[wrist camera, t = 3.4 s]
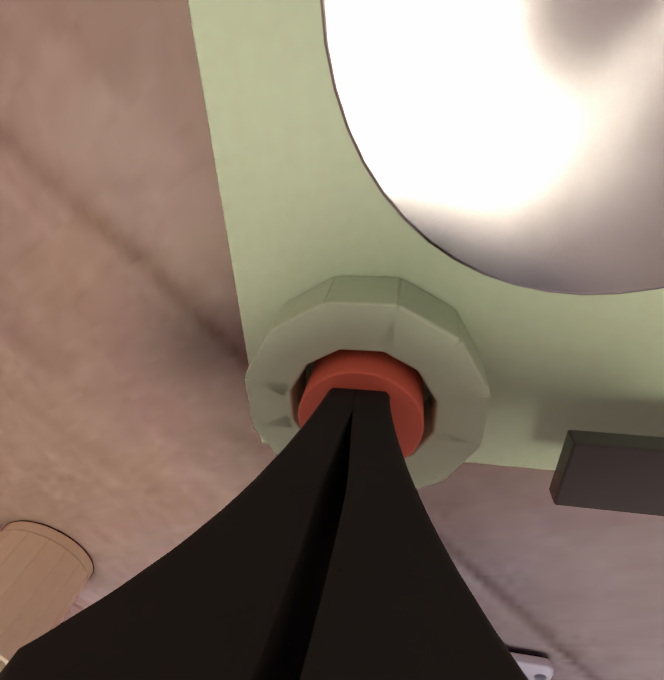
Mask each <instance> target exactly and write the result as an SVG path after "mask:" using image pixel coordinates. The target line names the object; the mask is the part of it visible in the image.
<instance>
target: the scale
mask: <svg viewBox="0 0 664 680" xmlns="http://www.w3.org/2000/svg"><path fill="white" fill-rule="evenodd" d="M188 5H189V11H190V17H191V23H192V28H193V34H194V40H195V46H196V52H197V58H198V64H199V70H200V76H201V82H202V88H203V94H204V100H205V106H206V112H207V118H208V124H209V130H210V136H211V142H212V148H213V154H214V160H215V166H216V172H217V178H218V184H219V190H220V196H221V202H222V208H223V214H224V220H225V226H226V232H227V238H228V244H229V250H230V256H231V262H232V268H233V274H234V280H235V286H236V292H237V298H238V304H239V310H240V316H241V322H242V328H243V334H244V340H245V346H246V352H247V358H248V363H249V368H248V370H247V372H246V374H245V385H246V391H247V396H248V402H249V408H250V413H251V419H252V424H253V428H254V429H255V430H256V431H257V432H258V433H259V435H260V436H261V441H262V443H267V444H268V445H269V446H270V448H271V449H272V450H273V451H274V452H275V454H276V455H278V454H279V453H280V452H281V451H282V450H283V449H284V448H285V447H286V445H287V444H288V443H289V442H290V441H291V439H292V438H293V437H294V436H295V435H296V434H297V432H298V431H299V430H300V429H301V427H300V423H299V418H298V410H299V405H300V402H301V399H302V396H303V393H304V391H305V388H306V385H307V383H308V380H309V377H310V375H311V372H312V369H313V367H314V364H315V362H316V360H318V359H320V358H322V357H324V356H326V355H329V354H331V353H333V352H335V351H337V350H340V349H343V350H362V351H380V352H385V353H387V354H389V355H390V356H392V357H394V358H396V359H398V360H400V361H401V362H403V363H405V364H407V365H409V366H410V367H412V368H414V369H416V370H418V372H419V374H420V375H421V377H422V379H423V406H424V431H423V435H422V438H421V441H420V442H419V444H418V446H417V447H416V449H415V450H414V451H413V452H412V453H411V454H410V455H409V456H408V457H406V458H405V462H406V465H407V468H408V470H409V473H410V475H411V478H412V480H413V483H414V485H415V487H416V489H419V488H422V487H426V486H429V485H433V484H437V483H440V482H442V481H443V480H445V479H446V478H447V477H448V476H449V475H450V474H451V473H452V472H454V471H455V470H456V469H457V468H458V467H459V466H460V465H461V464H462V463H463V462H469V463H479V464H490V465H500V466H511V467H522V468H532V469H543V470H554V471H555V469H556V466H557V463H558V460H559V457H560V454H561V450H562V447H563V444H564V441H565V438H566V435H567V431H568V430H581V431H593V432H606V433H619V434H632V435H644V436H657V437H664V288H661V289H656V290H648V291H641V292H633V293H625V294H611V295H573V294H561V293H550V292H543V291H538V290H533V289H529V288H524V287H519V286H514V285H511V284H508V283H505V282H502V281H499V280H496V279H494V278H491V277H488V276H485V275H482V274H480V273H478V272H476V271H474V270H472V269H470V268H468V267H466V266H464V265H462V264H460V263H458V262H456V261H454V260H453V259H451V258H450V257H448V256H447V255H445V254H444V253H442V252H441V251H440V250H438V249H437V248H435V247H434V246H432V245H431V244H429V243H428V242H427V241H426V240H424V239H423V238H422V237H421V236H420V235H419V234H418V233H417V232H416V231H415V230H413V229H412V228H411V227H410V226H409V225H408V224H407V223H406V222H405V221H404V220H403V219H402V218H401V217H400V216H399V214H398V213H397V212H396V211H395V210H394V209H393V207H392V206H391V205H390V204H389V203H388V201H387V200H386V199H385V198H384V197H383V195H382V194H381V193H380V191H379V189H378V188H377V186H376V185H375V183H374V181H373V180H372V178H371V177H370V175H369V174H368V172H367V170H366V169H365V167H364V166H363V164H362V162H361V160H360V158H359V156H358V153H357V151H356V149H355V147H354V145H353V143H352V141H351V138H350V136H349V134H348V132H347V130H346V127H345V124H344V121H343V118H342V115H341V112H340V109H339V106H338V103H337V100H336V96H335V93H334V90H333V86H332V81H331V76H330V71H329V66H328V62H327V57H326V52H325V47H324V39H323V28H322V18H321V7H320V0H188Z"/></svg>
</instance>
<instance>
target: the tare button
mask: <svg viewBox="0 0 664 680" xmlns="http://www.w3.org/2000/svg"><path fill="white" fill-rule="evenodd" d="M332 388H346V389H360V390H375V391H386V392H387V393H388V394H389V395H390V409H391V415H392V420H393V424H394V428H395V432H396V435H397V439H398V442H399V445H400V448H401V451H402V454H403V456H404V459H405V458H406V457H408V456H409V455H410V454H411V453H412V452H413V451H414V450H415V449H416V447H417V446H418V444H419V442H420V441H421V438H422V435H423V431H424V406H423V379H422V377H421V375H420V374H419V372H418V370H416V369H414V368H412V367H410V366H409V365H407V364H405V363H403V362H401V361H400V360H398V359H396V358H394V357H392V356H390V355H389V354H387V353H385V352H380V351H362V350H343V349H340V350H337V351H335V352H333V353H331V354H329V355H326V356H324V357H322V358H320V359H318V360H316V362H315V364H314V367H313V369H312V372H311V375H310V377H309V380H308V383H307V385H306V388H305V391H304V393H303V396H302V399H301V402H300V405H299V410H298V418H299V423H300V427H301V428H302V426H303V425H304V424H305V423H306V421H307V420H308V419H309V417H310V416H311V415H312V414H313V412H314V411H315V410H316V408H317V407H318V405H319V404H320V403H321V401H322V400H323V398H324V397H325V395H326V394H327V392H328V391H329V390H331V389H332Z"/></svg>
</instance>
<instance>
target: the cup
mask: <svg viewBox="0 0 664 680" xmlns="http://www.w3.org/2000/svg"><path fill="white" fill-rule="evenodd" d="M92 573H93V565H92V562H91V559H90V558H89V556H88V555H87V554H86V552H85V551H84V550H83V549H82V548H81V547H80V546H79V545H78V544H77V543H75V542H74V541H73V540H71V539H70V538H68V537H67V536H65V535H64V534H62V533H60V532H58V531H56V530H54V529H52V528H49V527H47V526H44V525H41V524H37V523H33V522H25V521H18V522H13V523H10V524H8V525H6V526H5V527H4V528H3V529H2V530H1V531H0V672H1V671H2V670H3V668H4V667H5V666H6V664H7V663H8V662H9V661H10V659H11V658H12V657H13V656H14V654H15V653H16V652H17V650H18V649H19V648H21V647H23V646H24V645H26V644H28V643H30V642H31V641H33V640H35V639H37V638H38V637H40V636H42V635H43V634H45V633H47V632H48V631H50V630H51V629H53V628H55V627H56V626H58V625H59V624H60V622H61V621H62V620H63V618H64V617H65V615H66V614H67V612H68V611H69V609H70V608H71V606H72V605H73V603H74V602H75V600H76V599H77V597H78V596H79V594H80V593H81V591H82V590H83V588H84V587H85V585H86V584H87V581H88V580H89V578H90V577H91V575H92Z"/></svg>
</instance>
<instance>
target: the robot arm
mask: <svg viewBox="0 0 664 680" xmlns="http://www.w3.org/2000/svg"><path fill="white" fill-rule="evenodd" d="M553 673H554V670H553V666H552V663H551V661H550V660H548V659H546V658H543V657H537V656H531V655H525V654H519V653H513V652H509V650H508V649H507V647H506V646H505V644H504V643H503V642H502V640H501V639H500V637H499V636H498V634H497V633H496V631H495V630H494V628H493V627H492V625H491V623H490V622H489V620H488V619H487V617H486V615H485V614H484V612H483V611H482V609H481V607H480V606H479V604H478V603H477V601H476V599H475V598H474V596H473V594H472V593H471V591H470V590H469V588H468V586H467V585H466V583H465V582H464V580H463V578H462V577H461V575H460V574H459V572H458V570H457V568H456V567H455V565H454V563H453V561H452V560H451V558H450V556H449V554H448V552H447V550H446V549H445V547H444V545H443V543H442V541H441V540H440V538H439V536H438V534H437V532H436V530H435V528H434V526H433V524H432V522H431V520H430V518H429V516H428V514H427V512H426V510H425V508H424V505H423V503H422V501H421V499H420V497H419V494H418V492H417V490H416V487H415V485H414V483H413V480H412V478H411V475H410V473H409V470H408V468H407V465H406V462H405V459H404V456H403V454H402V451H401V448H400V445H399V442H398V439H397V435H396V432H395V428H394V424H393V420H392V415H391V409H390V395H389V394H388V393H387V392H386V391H375V390H360V389H346V388H332V389H331V390H329V391H328V392H327V394H326V395H325V397H324V398H323V400H322V401H321V403H320V404H319V405H318V407H317V408H316V410H315V411H314V412H313V414H312V415H311V416H310V417H309V419H308V420H307V421H306V423H305V424H304V425H303V426H302V428H301V429H300V430H299V431H298V432H297V434H296V435H295V436H294V437H293V438H292V439H291V441H290V442H289V443H288V444H287V445H286V447H285V448H284V449H283V450H282V451H281V452H280V453H279V454H278V455H277V456H276V458H275V459H274V460H273V461H272V462H271V463H270V464H269V465H268V466H267V467H266V468H265V469H264V470H263V471H262V472H261V473H260V475H259V476H258V477H257V478H256V479H255V480H254V481H253V482H251V483H250V484H249V485H248V486H247V487H246V488H245V489H244V490H243V491H242V492H241V493H240V494H239V495H238V496H237V497H236V498H235V499H233V500H232V501H231V502H230V503H229V504H228V505H227V506H226V507H225V508H223V509H222V510H221V511H220V512H219V513H218V514H216V515H215V516H214V517H213V518H212V519H210V520H209V521H208V522H207V523H205V524H204V525H203V526H202V527H201V528H199V529H198V530H197V531H196V532H195V533H193V534H192V535H191V536H190V537H188V538H187V539H186V540H184V541H183V542H182V543H181V544H179V545H178V546H177V547H175V548H174V549H173V550H171V551H170V552H169V553H167V554H166V555H164V556H163V557H162V558H160V559H159V560H157V561H156V562H154V563H153V564H152V565H150V566H149V567H147V568H146V569H144V570H143V571H142V572H140V573H139V574H137V575H136V576H135V577H133V578H132V579H130V580H129V581H127V582H126V583H125V584H123V585H122V586H120V587H119V588H117V589H116V590H114V591H113V592H111V593H110V594H108V595H107V596H105V597H104V598H102V599H101V600H99V601H97V602H96V603H94V604H92V605H91V606H89V607H87V608H86V609H84V610H83V611H81V612H79V613H78V614H76V615H74V616H73V617H71V618H69V619H68V620H66V621H65V622H63V623H61V624H60V625H58V626H56V627H55V628H53V629H51V630H50V631H48V632H47V633H45V634H43V635H42V636H40V637H38V638H37V639H35V640H33V641H31V642H30V643H28V644H26V645H24V646H23V647H21V648H19V649H18V650H17V652H16V653H15V654H14V656H13V657H12V658H11V659H10V661H9V662H8V663H7V664H6V666H5V667H4V668H3V670H2V671H1V672H0V680H550V679H551V677H552V675H553Z"/></svg>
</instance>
